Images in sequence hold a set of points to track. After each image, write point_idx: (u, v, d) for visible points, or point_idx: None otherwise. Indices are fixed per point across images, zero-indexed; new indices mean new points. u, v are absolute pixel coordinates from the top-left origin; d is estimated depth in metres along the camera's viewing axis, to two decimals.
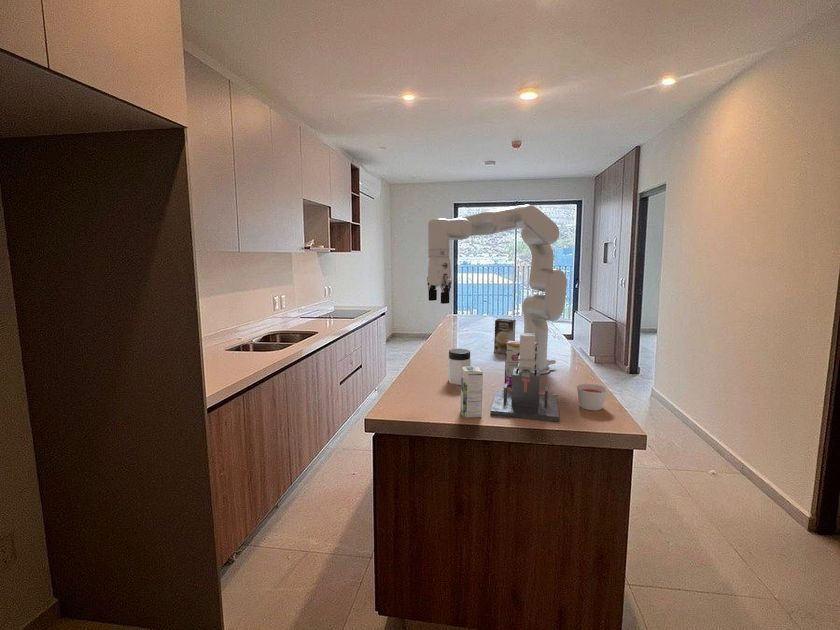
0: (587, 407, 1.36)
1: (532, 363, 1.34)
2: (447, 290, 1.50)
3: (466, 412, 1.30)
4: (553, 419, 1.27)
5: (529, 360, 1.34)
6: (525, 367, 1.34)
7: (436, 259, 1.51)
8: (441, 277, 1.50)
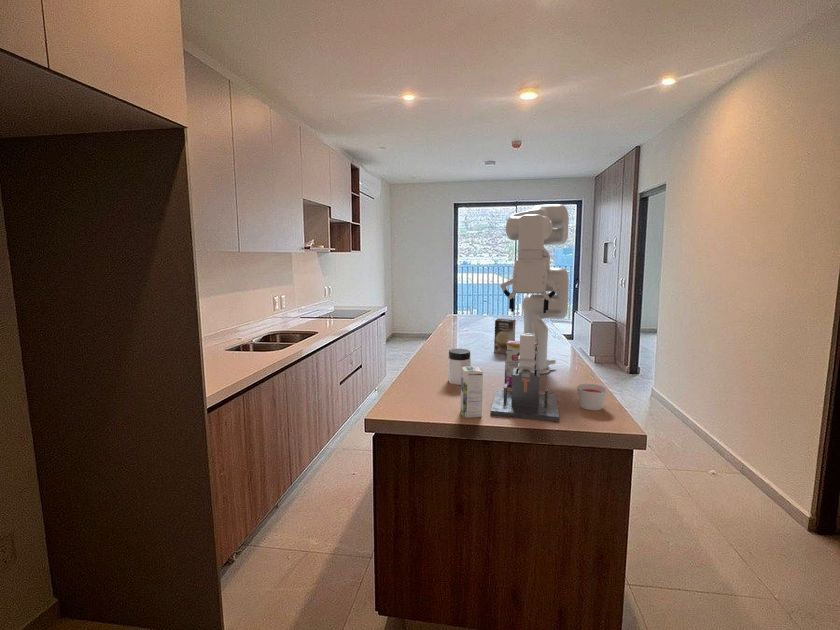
0: (587, 407, 1.36)
1: (532, 363, 1.34)
2: (551, 297, 1.31)
3: (466, 412, 1.30)
4: (553, 419, 1.27)
5: (529, 360, 1.34)
6: (525, 367, 1.34)
7: (539, 262, 1.29)
8: (546, 282, 1.30)
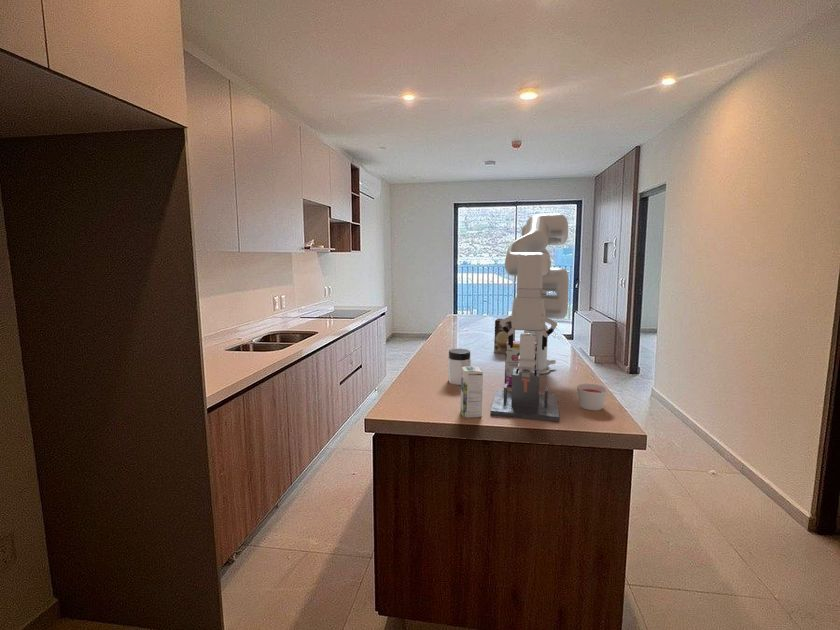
0: (587, 407, 1.36)
1: (532, 363, 1.34)
2: None
3: (466, 412, 1.30)
4: (553, 419, 1.27)
5: (529, 360, 1.34)
6: (525, 367, 1.34)
7: (537, 300, 1.31)
8: (544, 320, 1.32)
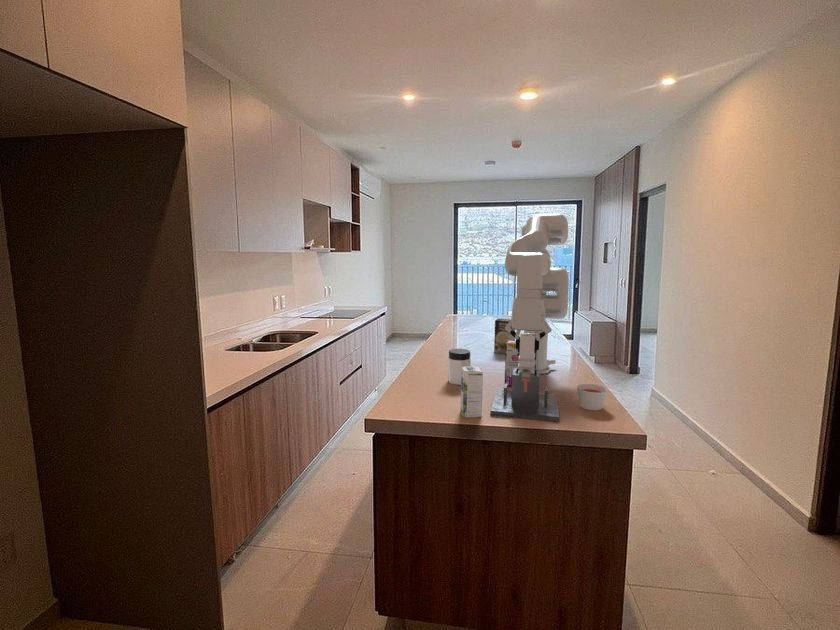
0: (587, 407, 1.36)
1: (532, 363, 1.34)
2: (541, 337, 1.34)
3: (466, 412, 1.30)
4: (553, 419, 1.27)
5: (529, 360, 1.34)
6: (525, 367, 1.34)
7: (537, 300, 1.31)
8: (544, 320, 1.32)
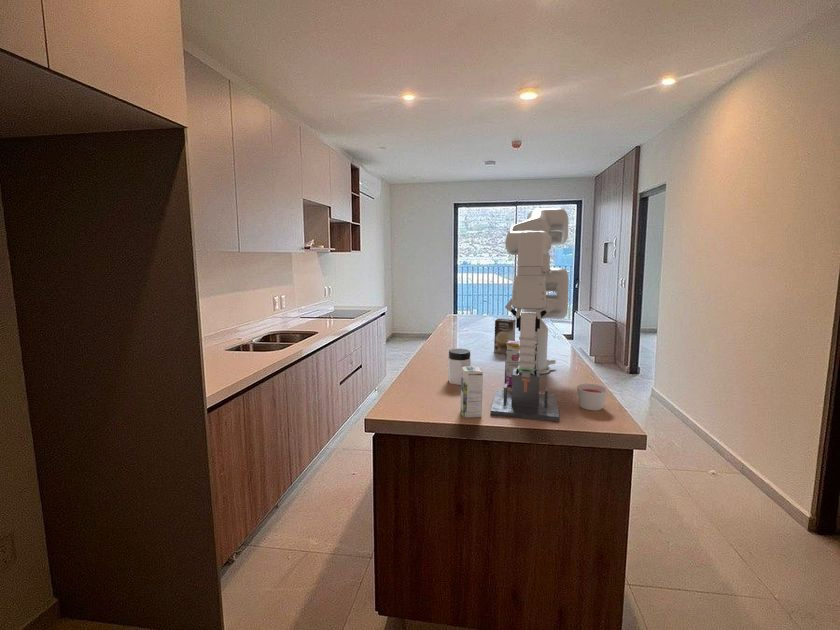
0: (587, 407, 1.36)
1: (533, 342, 1.33)
2: (542, 316, 1.33)
3: (466, 412, 1.30)
4: (553, 419, 1.27)
5: (530, 339, 1.33)
6: (526, 346, 1.33)
7: (538, 278, 1.30)
8: (545, 298, 1.31)
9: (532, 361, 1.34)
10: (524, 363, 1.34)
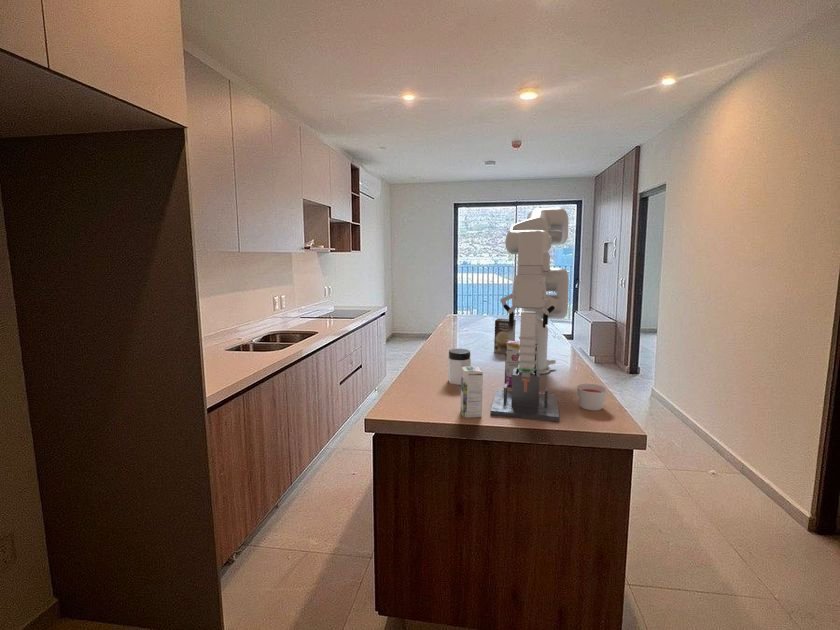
0: (587, 407, 1.36)
1: (533, 341, 1.33)
2: None
3: (466, 412, 1.30)
4: (553, 419, 1.27)
5: (530, 338, 1.33)
6: (526, 345, 1.33)
7: (538, 277, 1.30)
8: (545, 298, 1.31)
9: (532, 360, 1.34)
10: (524, 362, 1.34)
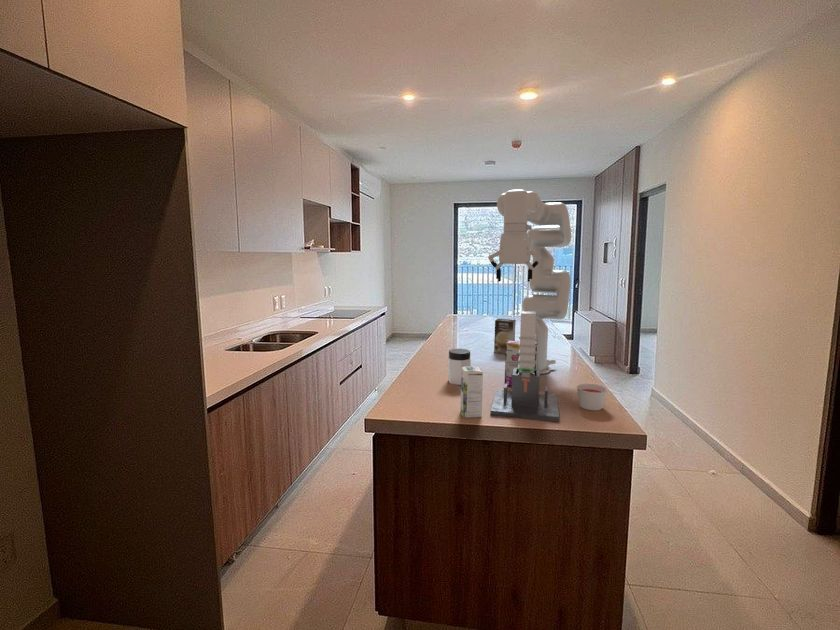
0: (587, 407, 1.36)
1: (533, 341, 1.33)
2: (534, 267, 1.43)
3: (466, 412, 1.30)
4: (553, 419, 1.27)
5: (530, 338, 1.33)
6: (526, 345, 1.33)
7: (523, 234, 1.39)
8: (530, 253, 1.41)
9: (532, 360, 1.34)
10: (524, 362, 1.34)
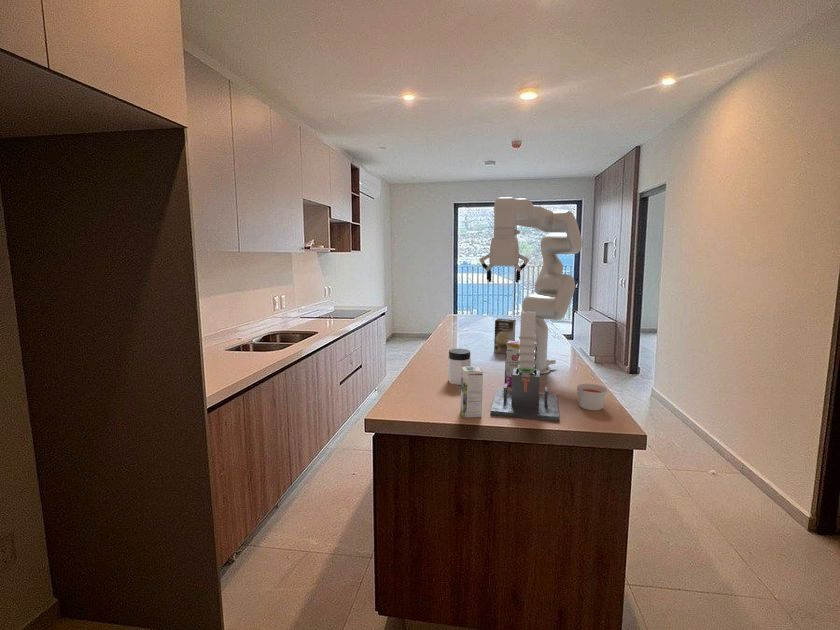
0: (587, 407, 1.36)
1: (533, 341, 1.33)
2: None
3: (466, 412, 1.30)
4: (553, 419, 1.27)
5: (530, 338, 1.33)
6: (526, 345, 1.33)
7: (511, 238, 1.50)
8: (517, 256, 1.51)
9: (532, 360, 1.34)
10: (524, 362, 1.34)
